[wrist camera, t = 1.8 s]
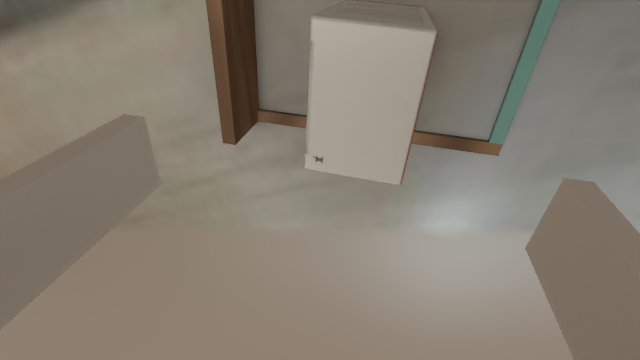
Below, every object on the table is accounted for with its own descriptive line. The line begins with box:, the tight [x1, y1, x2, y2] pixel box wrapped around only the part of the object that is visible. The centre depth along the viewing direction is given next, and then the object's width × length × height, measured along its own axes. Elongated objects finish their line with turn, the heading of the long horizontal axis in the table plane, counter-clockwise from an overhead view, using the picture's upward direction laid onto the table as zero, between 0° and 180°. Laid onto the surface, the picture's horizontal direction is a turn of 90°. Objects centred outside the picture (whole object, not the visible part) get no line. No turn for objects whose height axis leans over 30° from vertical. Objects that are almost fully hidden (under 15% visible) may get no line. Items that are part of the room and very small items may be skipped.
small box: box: [303, 0, 438, 185], centre depth 20 cm, size 8×6×10 cm
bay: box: [206, 0, 561, 156], centre depth 23 cm, size 21×12×5 cm, turn 86°
